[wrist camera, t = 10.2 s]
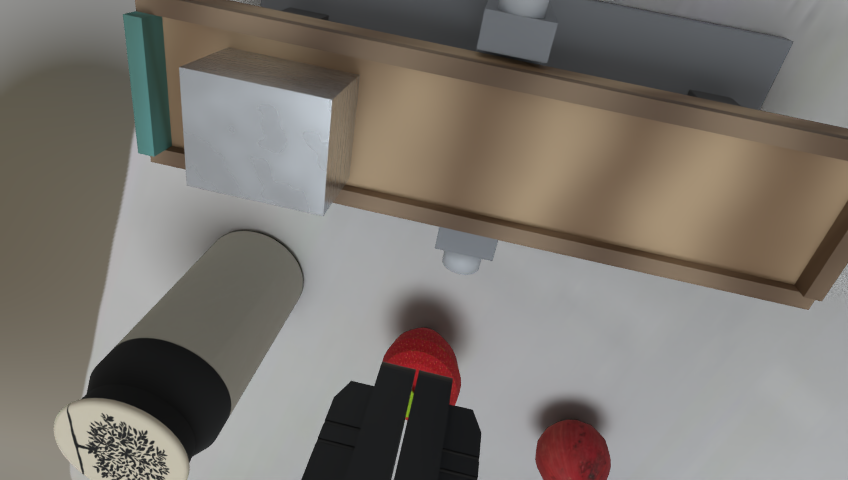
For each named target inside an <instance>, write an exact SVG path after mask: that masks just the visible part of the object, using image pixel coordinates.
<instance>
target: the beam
mask: <svg viewBox="0 0 848 480" xmlns="http://www.w3.org/2000/svg"><path fill="white" fill-rule="evenodd" d="M135 4H136V11H135V12H131V13H127V14H123V19H124V28H125V37H126V46H127V55H128V64H129V73H130V82H131V91H132V100H133V109H134V118H135V128H136V137H137V146H138V153H140V154H144V155H149V156H151V162H155V163H159V164H163V165H168V166H172V167H177V168H181V169H186V166H185V151H184V135H183V120H182V105H181V90H180V74H179V67H180V66H183V65H185V64H188V63H190V62H193V61H195V60H198V59H200V58H203V57H205V56H208V55H210V54H213V53H215V52H217V51H220V50H222V49H225V48H227V47H229V48H234V49H239V50H244V51H248V52H253V53H258V54H263V55H267V56H272V57H277V58H282V59H286V60H291V61H296V62H301V63H306V64H310V65H315V66H320V67H325V68H329V69H334V70H339V71H344V72H348V73H353V74H358V75H360V79H359V89H358V99H357V108H356V118H355V128H354V137H353V147H352V157H351V167H350V176H349V180H348V181H347V183H346V184H345V185H344V187H343V188H342V190H341V191H340V193H339V194H338V196H337V197H336V198H335V200H334V201H333V203H337V204H341V205H345V206H350V207H354V208H359V209H363V210H368V211H372V212H376V213H381V214H385V215H390V216H394V217H399V218H403V219H407V220H412V221H416V222H421V223H425V224H430V225H434V226H439V227H443V228H447V229H452V230H456V231H461V232H465V233H470V234H474V235H478V236H483V237H487V238H492V239H496V240H501V241H505V242H510V243H514V244H518V245H523V246H527V247H532V248H536V249H541V250H545V251H549V252H554V253H558V254H563V255H567V256H572V257H576V258H581V259H585V260H589V261H594V262H598V263H603V264H607V265H612V266H616V267H620V268H625V269H629V270H634V271H638V272H643V273H647V274H652V275H656V276H660V277H665V278H669V279H674V280H678V281H683V282H687V283H691V284H696V285H700V286H705V287H709V288H714V289H718V290H723V291H727V292H731V293H736V294H740V295H745V296H749V297H754V298H758V299H762V300H767V301H771V302H776V303H780V304H785V305H789V306H794V307H798V308H802V309H807V310H809V308H810V307H811V305H812V304H813V302H814V301H815V300H818V301H822V300H823V299H824V297H825V296H826V294H827V293H828V291H829V290H830V288H831V287H832V285H833V284H834V283H835V281H836V280H837V278H838V277H839V275H840V274H841V272H842V271H843V269H844V268H845V266H846V265H847V263H848V129H847V128H842V127H837V126H833V125H828V124H823V123H818V122H813V121H808V120H804V119H799V118H794V117H789V116H784V115H780V114H775V113H770V112H765V111H760V110H755V109H751V108H746V107H741V106H736V105H731V104H727V103H722V102H717V101H712V100H707V99H702V98H698V97H693V96H688V95H683V94H678V93H673V92H669V91H664V90H659V89H654V88H649V87H645V86H640V85H635V84H630V83H625V82H620V81H616V80H611V79H606V78H601V77H596V76H592V75H587V74H582V73H577V72H572V71H567V70H563V69H558V68H553V67H548V66H543V65H539V64H534V63H529V62H524V61H519V60H514V59H510V58H505V57H500V56H495V55H490V54H485V53H481V52H476V51H471V50H466V49H461V48H457V47H452V46H447V45H442V44H437V43H432V42H428V41H423V40H418V39H413V38H408V37H404V36H399V35H394V34H389V33H384V32H379V31H375V30H370V29H365V28H360V27H355V26H351V25H346V24H341V23H336V22H331V21H326V20H322V19H317V18H312V17H307V16H302V15H297V14H293V13H288V12H283V11H278V10H273V9H269V8H264V7H259V6H254V5H249V4H244V3H240V2H235V1H230V0H135Z"/></svg>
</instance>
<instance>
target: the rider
mask: <svg viewBox="0 0 848 480" xmlns="http://www.w3.org/2000/svg"><path fill="white" fill-rule="evenodd" d="M179 74H180V90H181V105H182V120H183V135H184V151H185V166H186V181H187V186H191V187H196V188H200V189H205V190H209V191H214V192H218V193H222V194H227V195H231V196H236V197H240V198H245V199H249V200H253V201H258V202H262V203H267V204H271V205H276V206H280V207H285V208H289V209H293V210H298V211H302V212H307V213H311V214H316V215H320V216H324V214H325V213H326V211H327V210H328V208H329V207H330V206H331V204H332V203H333V201H334V200H335V198H336V197H337V196H338V194H339V193H340V191H341V190H342V188H343V187H344V185H345V184H346V183H347V181H348V180H349V176H350V167H351V157H352V147H353V137H354V128H355V118H356V108H357V99H358V89H359V79H360V75H358V74H353V73H348V72H344V71H339V70H334V69H329V68H325V67H320V66H315V65H310V64H306V63H301V62H296V61H291V60H286V59H282V58H277V57H272V56H267V55H263V54H258V53H253V52H248V51H244V50H239V49H234V48H229V47H227V48H225V49H222V50H220V51H217V52H215V53H213V54H210V55H208V56H205V57H203V58H200V59H198V60H195V61H193V62H190V63H188V64H185V65H183V66H180V67H179Z"/></svg>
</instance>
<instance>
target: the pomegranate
mask: <svg viewBox="0 0 848 480" xmlns="http://www.w3.org/2000/svg"><path fill="white" fill-rule="evenodd" d="M535 460H536V464H537V468H538V470H539V472H540V474H541V476H542V478H543V480H607V478H608V475H609V472H610V468H611V460H610V455H609V451H608V447H607V444H606V441H605V439H604V438H603V437H602V436H601V435H600V433H599V432H598V431H597V430H596V429H595V428H594V427H593V426H592V425H589V424H586V423H584V422H581V421H578V420H564V421H559V422H557V423H555V424H553V425H551V426H549V427H548V428H547V429H546V430H545V431H544V433H543V434H542V435H541V437H540V438H539V440H538V443H537V449H536V458H535Z"/></svg>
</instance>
